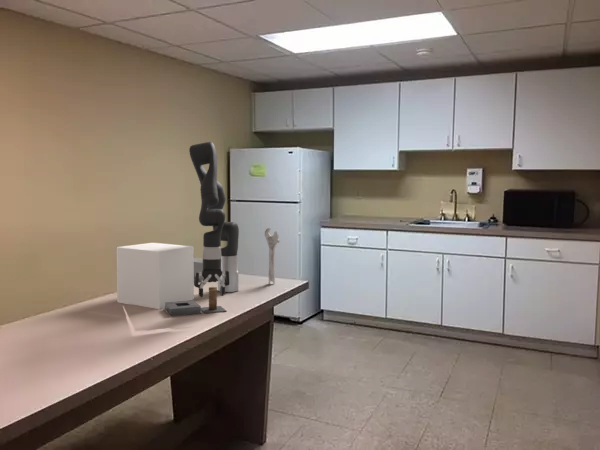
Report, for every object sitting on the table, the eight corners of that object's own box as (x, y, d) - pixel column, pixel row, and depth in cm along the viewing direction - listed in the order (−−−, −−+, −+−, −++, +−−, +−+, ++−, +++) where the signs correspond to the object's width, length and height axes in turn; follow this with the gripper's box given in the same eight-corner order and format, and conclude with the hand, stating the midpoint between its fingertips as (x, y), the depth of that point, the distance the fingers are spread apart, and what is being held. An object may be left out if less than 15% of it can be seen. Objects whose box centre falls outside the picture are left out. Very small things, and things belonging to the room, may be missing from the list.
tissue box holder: (234, 277, 292) (234, 258, 291) (205, 283, 273) (205, 263, 272) (201, 272, 306) (201, 254, 305) (171, 278, 286) (171, 258, 285)
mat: (220, 306, 223) (220, 305, 223) (226, 311, 215) (226, 310, 215) (199, 308, 219) (199, 307, 219) (204, 313, 211) (204, 312, 211)
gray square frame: (194, 307, 222) (194, 300, 221) (200, 313, 211) (200, 306, 210) (165, 309, 217) (165, 302, 216) (170, 316, 206) (170, 309, 206)
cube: (193, 300, 236) (193, 246, 234) (159, 310, 218) (158, 251, 216) (153, 293, 248) (152, 242, 246) (117, 302, 230) (116, 247, 228)
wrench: (279, 286, 268) (280, 227, 265) (278, 287, 266) (279, 228, 263) (265, 285, 270) (265, 227, 268) (264, 285, 269) (264, 227, 266)
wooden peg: (215, 307, 219) (215, 286, 218) (217, 309, 216) (217, 288, 215) (207, 308, 218) (207, 287, 217) (209, 310, 215) (209, 288, 214)
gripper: (226, 255, 221) (226, 293, 222) (192, 256, 216) (192, 295, 217) (231, 257, 214) (231, 297, 216) (196, 259, 209) (196, 299, 210)
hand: (211, 296), depth 216 cm, fingers open, 8 cm apart
